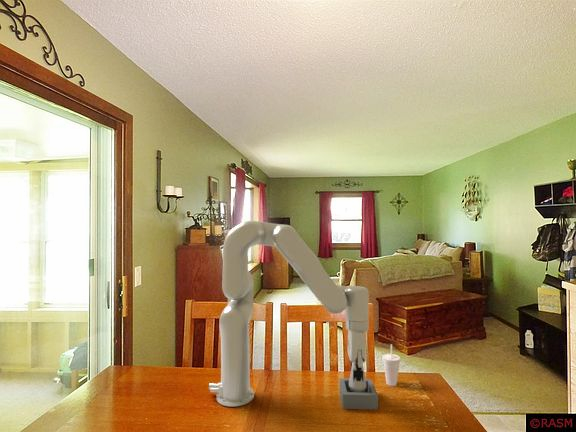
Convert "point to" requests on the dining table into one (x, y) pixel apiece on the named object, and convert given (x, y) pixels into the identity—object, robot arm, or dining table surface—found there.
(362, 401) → the socket holder
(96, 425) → the dining table surface
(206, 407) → the dining table surface
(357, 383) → the salt shaker
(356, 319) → the robot arm
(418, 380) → the dining table surface
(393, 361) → the smoothie
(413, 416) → the dining table surface
